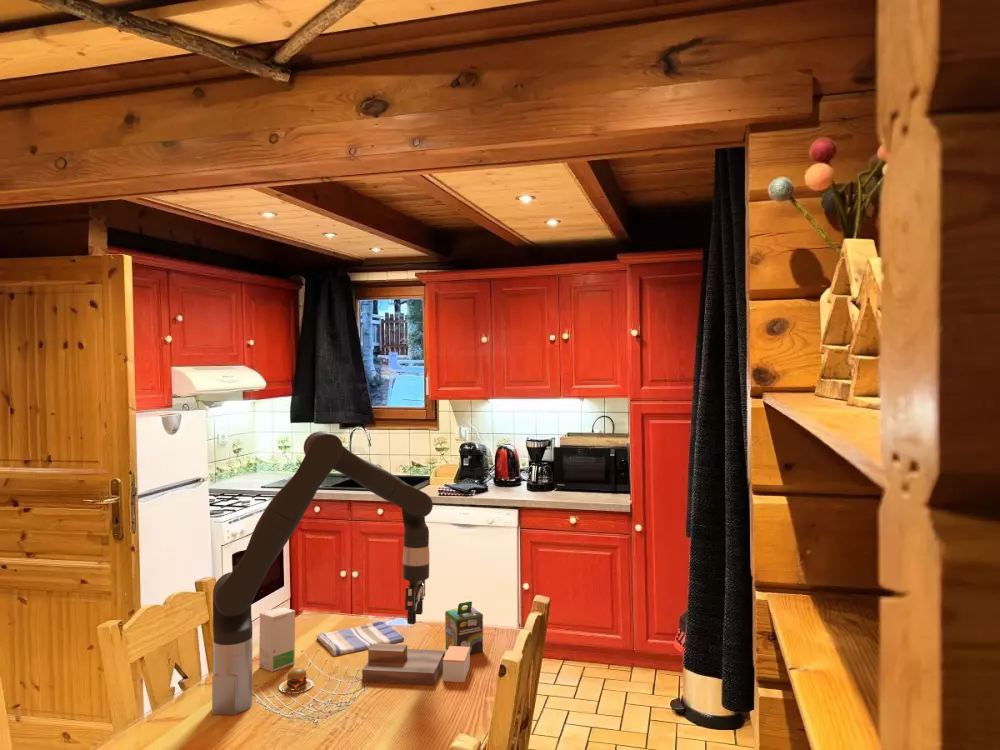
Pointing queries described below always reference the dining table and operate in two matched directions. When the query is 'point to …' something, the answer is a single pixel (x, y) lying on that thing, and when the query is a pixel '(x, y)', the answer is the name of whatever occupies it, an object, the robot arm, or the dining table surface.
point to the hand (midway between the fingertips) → (415, 618)
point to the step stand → (402, 665)
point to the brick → (456, 664)
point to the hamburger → (297, 680)
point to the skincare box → (277, 639)
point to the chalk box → (464, 628)
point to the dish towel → (359, 638)
